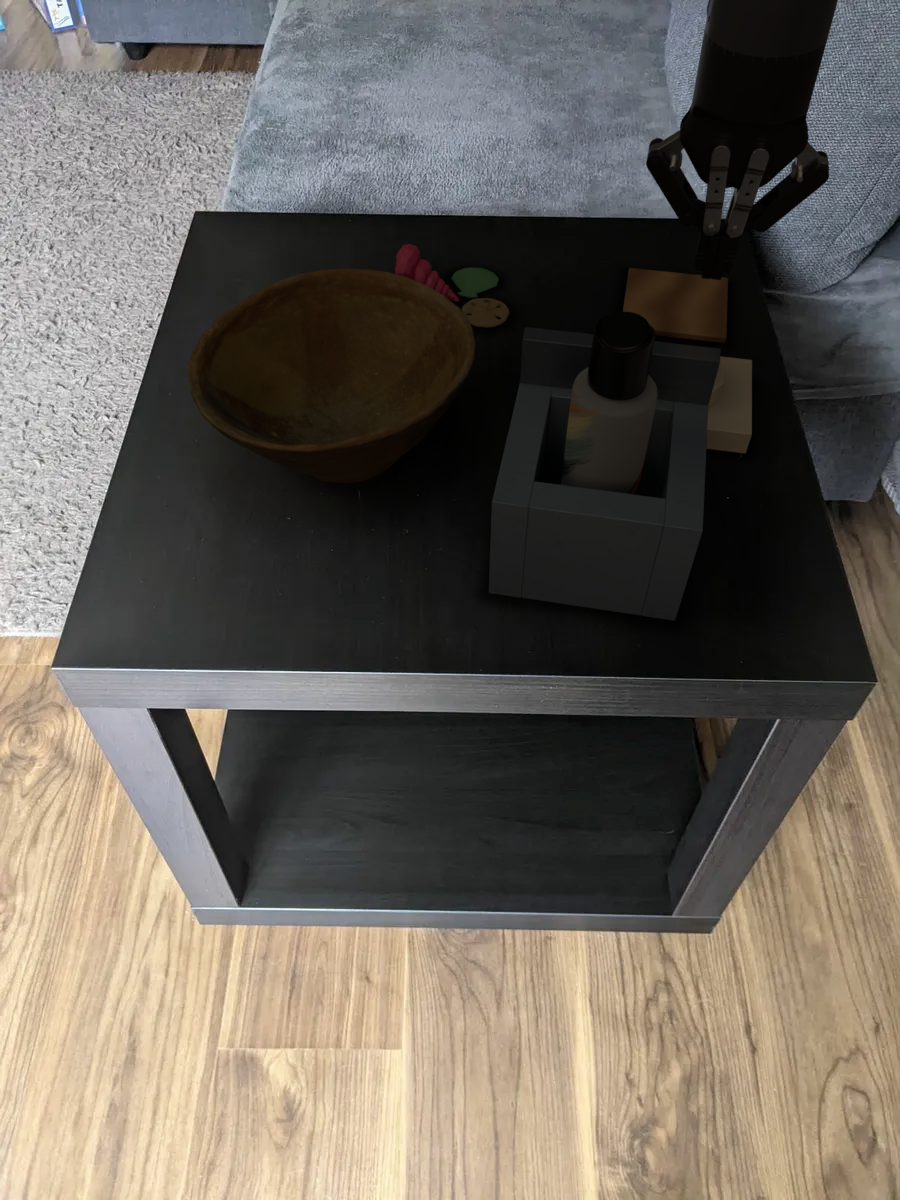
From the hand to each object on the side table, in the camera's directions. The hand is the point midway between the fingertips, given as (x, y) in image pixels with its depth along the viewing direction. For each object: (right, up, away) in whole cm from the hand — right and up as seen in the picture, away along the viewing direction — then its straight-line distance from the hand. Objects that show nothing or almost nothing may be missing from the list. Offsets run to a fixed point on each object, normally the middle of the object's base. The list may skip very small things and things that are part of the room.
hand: (711, 273), depth 72 cm
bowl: (-29, -12, +9) cm, 33 cm away
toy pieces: (-20, +5, +22) cm, 30 cm away
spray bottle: (-9, -20, +2) cm, 22 cm away
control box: (0, -8, +12) cm, 14 cm away
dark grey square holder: (-9, -20, +2) cm, 22 cm away
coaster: (+2, +4, +21) cm, 21 cm away
